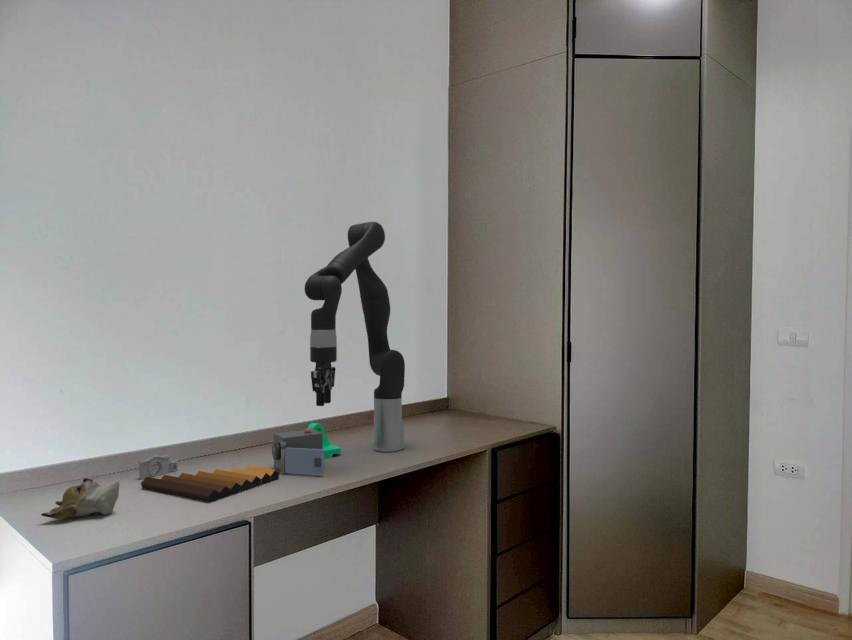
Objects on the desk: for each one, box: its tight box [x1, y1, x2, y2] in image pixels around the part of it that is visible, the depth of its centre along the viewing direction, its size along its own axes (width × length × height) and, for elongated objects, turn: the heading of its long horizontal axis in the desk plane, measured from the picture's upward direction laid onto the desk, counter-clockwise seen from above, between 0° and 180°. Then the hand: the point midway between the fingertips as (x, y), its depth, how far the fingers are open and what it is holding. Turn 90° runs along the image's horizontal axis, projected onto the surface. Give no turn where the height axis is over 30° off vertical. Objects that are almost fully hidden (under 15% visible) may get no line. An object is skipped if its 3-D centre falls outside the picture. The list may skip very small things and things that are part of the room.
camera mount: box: [306, 422, 342, 460], centre depth 201 cm, size 12×8×10 cm, turn 131°
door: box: [280, 447, 325, 476], centre depth 178 cm, size 12×2×7 cm, turn 79°
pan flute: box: [140, 465, 281, 504], centre depth 170 cm, size 25×3×25 cm
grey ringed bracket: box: [137, 453, 179, 480], centre depth 179 cm, size 12×2×6 cm, turn 149°
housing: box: [271, 428, 323, 472], centre depth 186 cm, size 13×10×11 cm
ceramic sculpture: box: [40, 478, 120, 520], centre depth 144 cm, size 11×9×15 cm
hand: (323, 404), depth 183 cm, fingers open, 4 cm apart
